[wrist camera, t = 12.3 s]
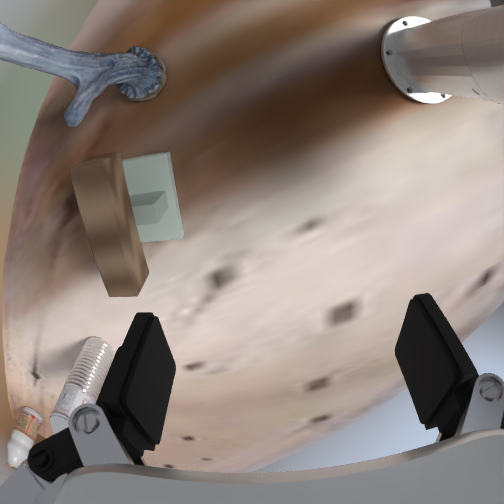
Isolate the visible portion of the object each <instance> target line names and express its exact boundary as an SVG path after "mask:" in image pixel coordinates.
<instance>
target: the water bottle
mask: <svg viewBox="0 0 504 504" xmlns="http://www.w3.org/2000/svg"><path fill="white" fill-rule="evenodd" d="M113 357H114V350H113V348H112V346H111V345H110V344H109V343H108V342H107V341H105V340H103V339H101V338H98V337H91V338H89V339H88V340H87V341H86V342H85V344H84V346H83V348H82V350H81V352H80V354H79V356H78V358H77V359H76V362H75V363H74V366H73V368H72V370H71V372H70V374H69V376H68V378H67V380H66V382H65V384H64V388H63V390H62V392H61V394H60V397H59V399H58V401H57V403H56V406H55V408H54V410H53V412H52V413H51V416H50V418H49V421H50V426H51V429H52V431H53V433H54V434H56V433H58V432H60V431H61V430H63V429H65V428H67V427H69V424H68V422H69V417H70V415H71V413H72V412H73V410H74V409H75V408H77V407H78V406H80V405H83V404H86V403H92V404H95V403H96V401H97V398H98V395H99V392H100V390H101V388H102V385H103V383H104V380H105V378H106V375H107V373H108V370H109V368H110V365H111V363H112V360H113Z"/></svg>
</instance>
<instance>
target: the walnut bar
mask: <svg viewBox="0 0 504 504" xmlns="http://www.w3.org/2000/svg"><path fill="white" fill-rule="evenodd" d="M69 171H70V175H71V180H72V184H73V188H74V192H75V195H76V199H77V203H78V206H79V210H80V214H81V217H82V220H83V224H84V227H85V230H86V233H87V237H88V240H89V243H90V246H91V249H92V252H93V255H94V257H95V260H96V263H97V266H98V269H99V271H100V274H101V277H102V279H103V282H104V285H105V287H106V290H107V292H108V295H109V297H132V296H138V295H139V293H140V291H141V289H142V287H143V285H144V283H145V281H146V279H147V277H148V275H149V270H148V267H147V263H146V260H145V256H144V252H143V249H142V245H141V241H140V238H139V234H138V230H137V226H136V222H135V218H134V214H133V210H132V205H131V201H130V197H129V192H128V187H127V183H126V178H125V173H124V168H123V163H122V158H121V152H115V153H110V154H106V155H101V156H97V157H93V158H90V159H88V160H86V161H84V162H82V163H80V164H78V165H76V166H74V167H73V168H71V169H69Z"/></svg>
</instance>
